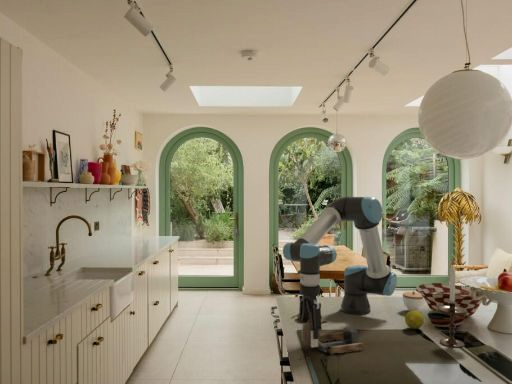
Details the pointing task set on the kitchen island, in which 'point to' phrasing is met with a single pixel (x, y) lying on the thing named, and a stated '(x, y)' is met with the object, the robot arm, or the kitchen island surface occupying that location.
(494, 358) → the kitchen island surface
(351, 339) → the lopsided grey dumbbell
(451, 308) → the candlestick
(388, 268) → the robot arm
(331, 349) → the channel
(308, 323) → the vase
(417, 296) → the lidded jar
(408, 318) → the lemon
